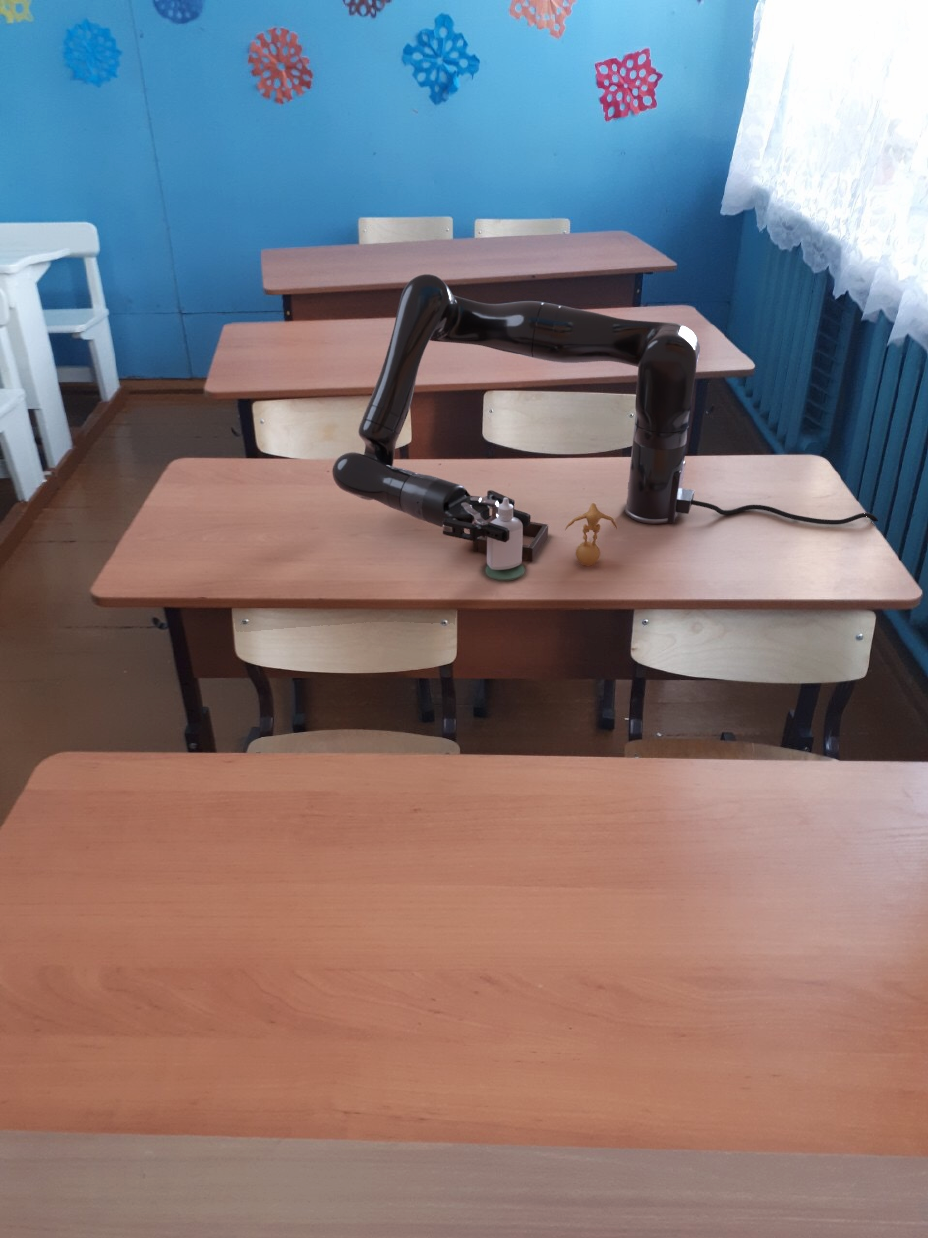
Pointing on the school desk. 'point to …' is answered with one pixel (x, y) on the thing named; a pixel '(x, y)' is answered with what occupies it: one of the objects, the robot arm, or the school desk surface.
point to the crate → (527, 551)
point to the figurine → (589, 550)
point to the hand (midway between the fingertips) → (518, 528)
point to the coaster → (506, 573)
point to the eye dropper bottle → (510, 551)
